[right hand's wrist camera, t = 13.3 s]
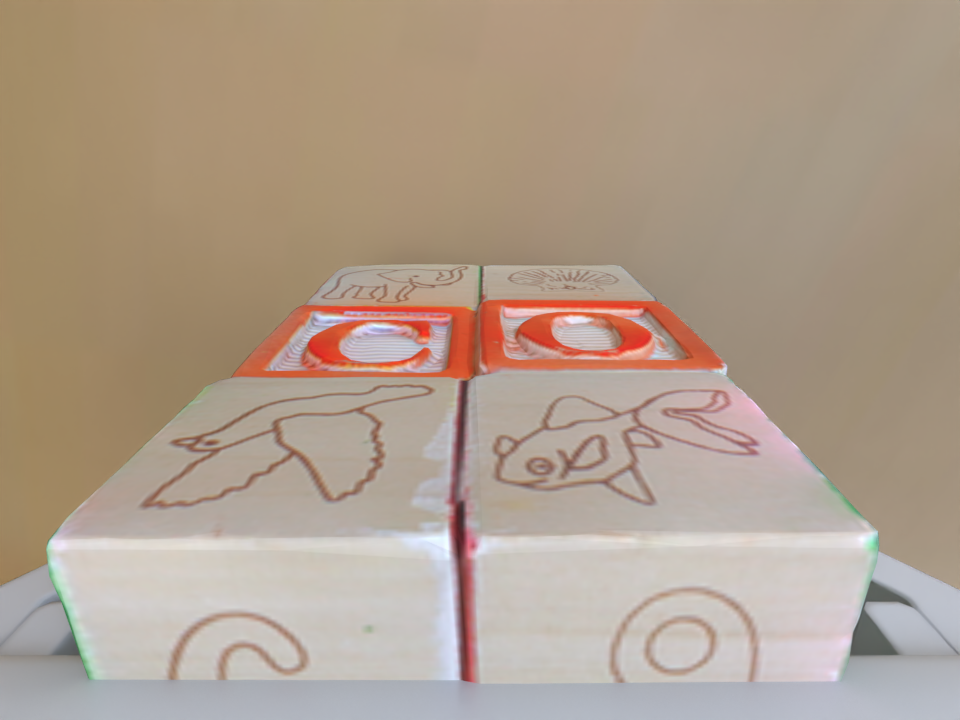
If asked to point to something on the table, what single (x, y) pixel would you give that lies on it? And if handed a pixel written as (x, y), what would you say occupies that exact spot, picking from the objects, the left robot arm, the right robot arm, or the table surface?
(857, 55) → the table surface
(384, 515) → the stack of blocks
